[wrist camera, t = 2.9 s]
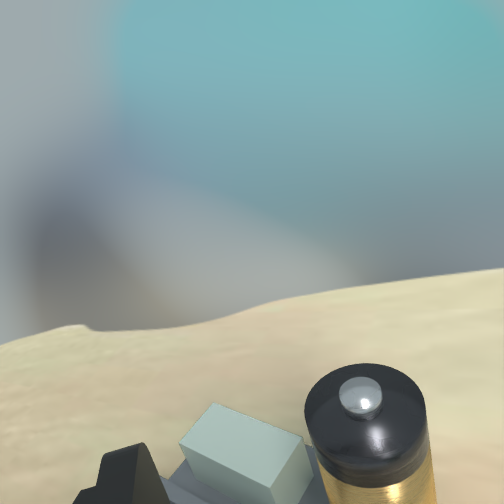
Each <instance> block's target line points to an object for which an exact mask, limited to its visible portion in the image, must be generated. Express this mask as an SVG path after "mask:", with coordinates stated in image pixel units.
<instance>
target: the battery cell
mask: <svg viewBox="0 0 504 504" xmlns="http://www.w3.org/2000/svg"><path fill="white" fill-rule="evenodd" d="M304 413H305V420H306V424H307V427H308V430H309V434H310V437H311V441H312V444H313V448H314V451H315V455H316V458H317V462H318V465H319V468H320V472H321V475H322V479H323V482H324V486H325V489H326V493H327V496H328V500H329V503H330V504H437V500H436V491H435V483H434V475H433V466H432V458H431V449H430V441H429V433H428V424H427V416H426V408H425V401H424V397H423V395H422V392H421V391H420V389H419V387H418V386H417V385H416V384H415V382H414V381H413V380H412V379H411V378H409V377H408V376H407V375H405V374H404V373H402V372H400V371H398V370H396V369H394V368H391V367H388V366H385V365H380V364H371V363H362V364H354V365H348V366H345V367H342V368H339V369H336V370H334V371H332V372H330V373H329V374H327V375H325V376H324V377H323V378H321V379H320V380H319V381H318V382H317V383H316V384H315V385H314V387H313V388H312V389H311V391H310V392H309V394H308V397H307V399H306V403H305V409H304Z"/></svg>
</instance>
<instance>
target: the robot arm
mask: <svg viewBox="0 0 504 504" xmlns="http://www.w3.org/2000/svg"><path fill="white" fill-rule="evenodd" d="M72 504H170V501H169V498H168V495H167V493H166V490H165V488H164V486H163V483H162V481H161V479H160V476H159V474H158V471H157V469H156V467H155V464H154V462H153V460H152V457H151V455H150V452H149V450H148V448H147V446H146V445H145V444H144V443H138V444H135V445H132V446H128V447H125V448H122V449H118V450H115V451H112V452H108V453H105V454H104V455H103V457H102V460H101V464H100V469H99V474H98V479H97V483H96V486H94V487H91V488H87V489H84V490H81V491H80V492H79V494H78V496H77V497H76V499H75V500H74V502H73V503H72Z"/></svg>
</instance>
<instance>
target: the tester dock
mask: <svg viewBox="0 0 504 504" xmlns="http://www.w3.org/2000/svg"><path fill="white" fill-rule="evenodd" d="M179 445H180V447H181V449H182V451H183V453H184V455H185V457H186V459H185V460H184V461H183V463H182V464H181V465H180V466H179V468H178V469H177V470H176V471H175V472H174V474H173V475H172V476H171V477H170V478H169V480H166V479H165V478H163V477H161V476H160V475H159V476H160V479H161V481H162V483H163V486H164V488H165V490H166V493H167V495H168V498H169V501H170V504H330V503H329V500H328V496H327V493H326V489H325V486H324V482H323V479H322V475H321V472H320V468H319V465H318V462H317V458H316V455H315V451H314V448H312V447H310V446H307V445H305V444H304V441H303V438H302V437H300V436H298V435H295V434H293V433H290V432H287V431H285V430H282V429H280V428H277V427H275V426H272V425H270V424H267V423H265V422H262V421H259V420H257V419H254V418H252V417H249V416H247V415H244V414H242V413H239V412H237V411H234V410H231V409H229V408H226V407H224V406H221V405H219V404H216V403H214V402H213V404H212V405H211V406H210V407H209V408H208V409H207V411H206V412H205V413H204V414H203V415H202V416H201V418H200V419H199V420H198V421H197V422H196V423H195V424H194V426H193V427H192V428H191V429H190V430H189V431H188V433H187V434H186V435H185V436H184V437H183V438H182V440H181V441H180V442H179Z"/></svg>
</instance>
